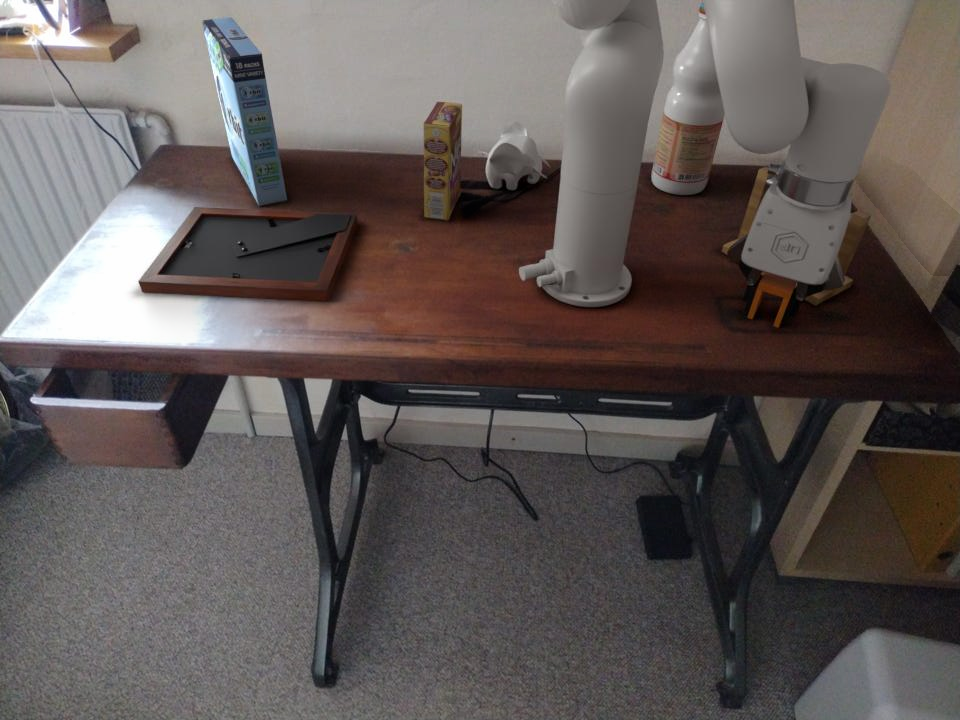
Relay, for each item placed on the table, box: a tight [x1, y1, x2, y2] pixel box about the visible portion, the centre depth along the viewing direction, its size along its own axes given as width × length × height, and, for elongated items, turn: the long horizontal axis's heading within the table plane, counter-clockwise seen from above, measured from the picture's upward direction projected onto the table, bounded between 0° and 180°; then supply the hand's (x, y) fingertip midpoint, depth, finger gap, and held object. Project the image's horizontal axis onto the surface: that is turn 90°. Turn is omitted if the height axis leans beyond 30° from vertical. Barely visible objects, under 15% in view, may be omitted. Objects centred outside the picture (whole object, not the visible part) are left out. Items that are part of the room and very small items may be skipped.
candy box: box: [423, 101, 463, 221], centre depth 105 cm, size 9×4×15 cm, turn 169°
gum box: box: [201, 16, 288, 207], centre depth 108 cm, size 20×5×23 cm, turn 27°
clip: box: [746, 272, 797, 329], centre depth 88 cm, size 4×4×6 cm
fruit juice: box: [650, 2, 725, 196], centre depth 108 cm, size 9×9×28 cm
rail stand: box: [721, 166, 872, 306], centre depth 94 cm, size 8×16×12 cm, turn 34°
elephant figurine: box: [479, 121, 552, 191], centre depth 113 cm, size 10×12×9 cm
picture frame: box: [138, 206, 359, 302], centre depth 98 cm, size 20×2×25 cm
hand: (767, 311), depth 89 cm, fingers closed on clip, 4 cm apart
